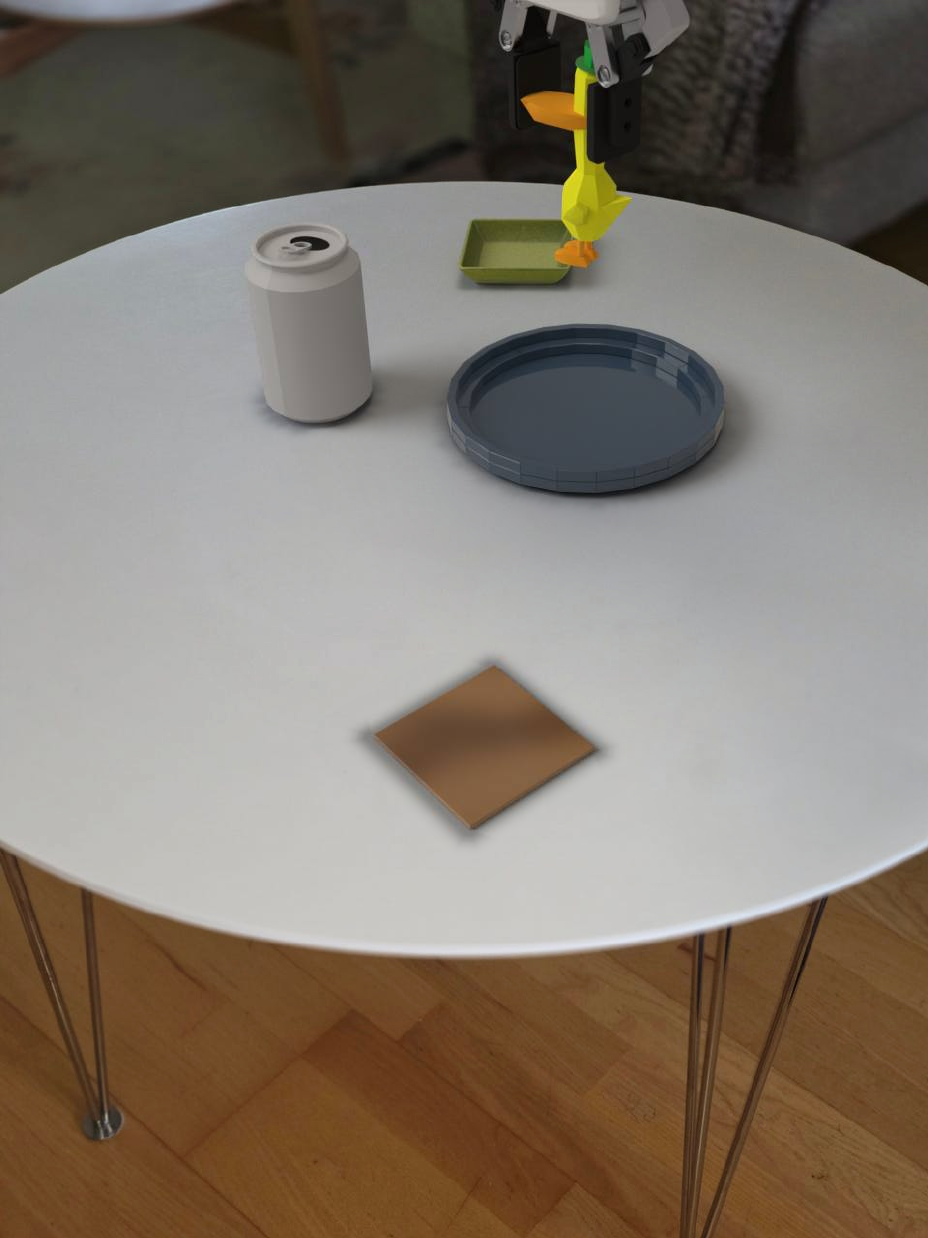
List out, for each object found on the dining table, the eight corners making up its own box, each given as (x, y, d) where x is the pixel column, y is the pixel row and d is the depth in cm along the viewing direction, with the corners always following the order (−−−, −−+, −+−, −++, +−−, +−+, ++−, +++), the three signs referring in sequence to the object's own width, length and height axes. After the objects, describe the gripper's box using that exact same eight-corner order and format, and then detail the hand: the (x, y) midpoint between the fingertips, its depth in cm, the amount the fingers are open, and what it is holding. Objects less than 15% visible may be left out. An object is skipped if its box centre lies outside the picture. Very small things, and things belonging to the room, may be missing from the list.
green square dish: (457, 291, 106) (456, 267, 105) (470, 241, 113) (469, 217, 111) (570, 293, 105) (570, 268, 104) (576, 242, 112) (576, 218, 110)
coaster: (594, 752, 69) (594, 746, 69) (470, 831, 65) (470, 826, 65) (494, 669, 74) (494, 664, 73) (373, 739, 70) (372, 734, 70)
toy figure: (506, 255, 77) (508, 38, 69) (537, 230, 79) (542, 16, 71) (613, 285, 75) (628, 62, 67) (642, 257, 77) (659, 39, 69)
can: (395, 389, 96) (380, 228, 88) (331, 442, 91) (310, 277, 83) (309, 363, 99) (288, 205, 91) (244, 413, 94) (216, 251, 86)
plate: (779, 425, 90) (783, 397, 89) (573, 537, 82) (573, 508, 81) (593, 324, 101) (594, 297, 100) (395, 414, 93) (392, 386, 92)
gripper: (776, -256, 57) (741, 165, 69) (517, -289, 68) (525, 80, 80) (644, -228, 54) (631, 209, 66) (394, -267, 65) (421, 114, 76)
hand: (573, 135), depth 73 cm, fingers closed on toy figure, 5 cm apart
